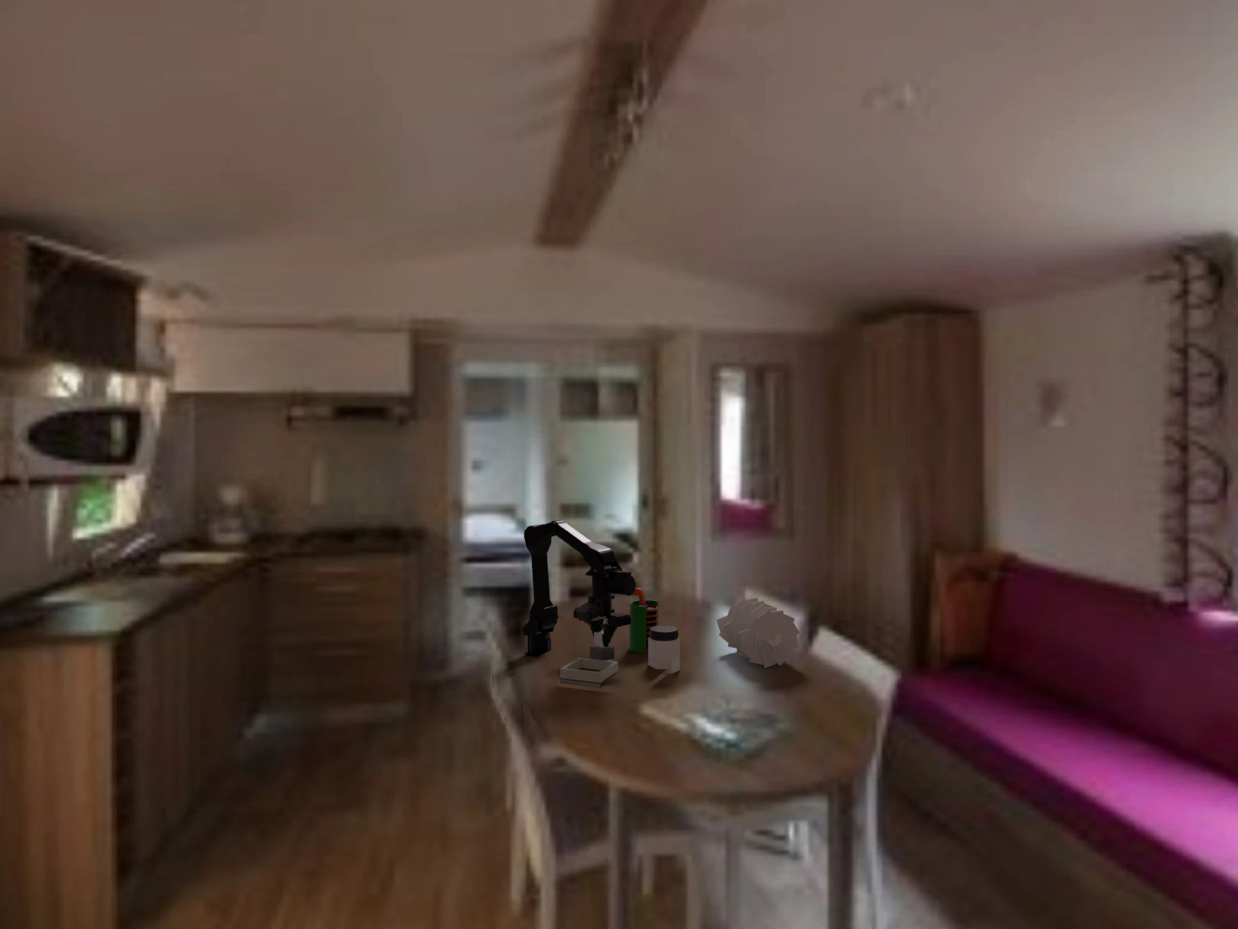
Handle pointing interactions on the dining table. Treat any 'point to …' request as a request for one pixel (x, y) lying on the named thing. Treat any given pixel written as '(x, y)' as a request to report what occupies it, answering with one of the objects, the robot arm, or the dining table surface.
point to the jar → (664, 649)
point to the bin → (588, 672)
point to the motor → (642, 621)
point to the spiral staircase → (759, 632)
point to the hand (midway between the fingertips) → (602, 645)
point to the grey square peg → (601, 648)
